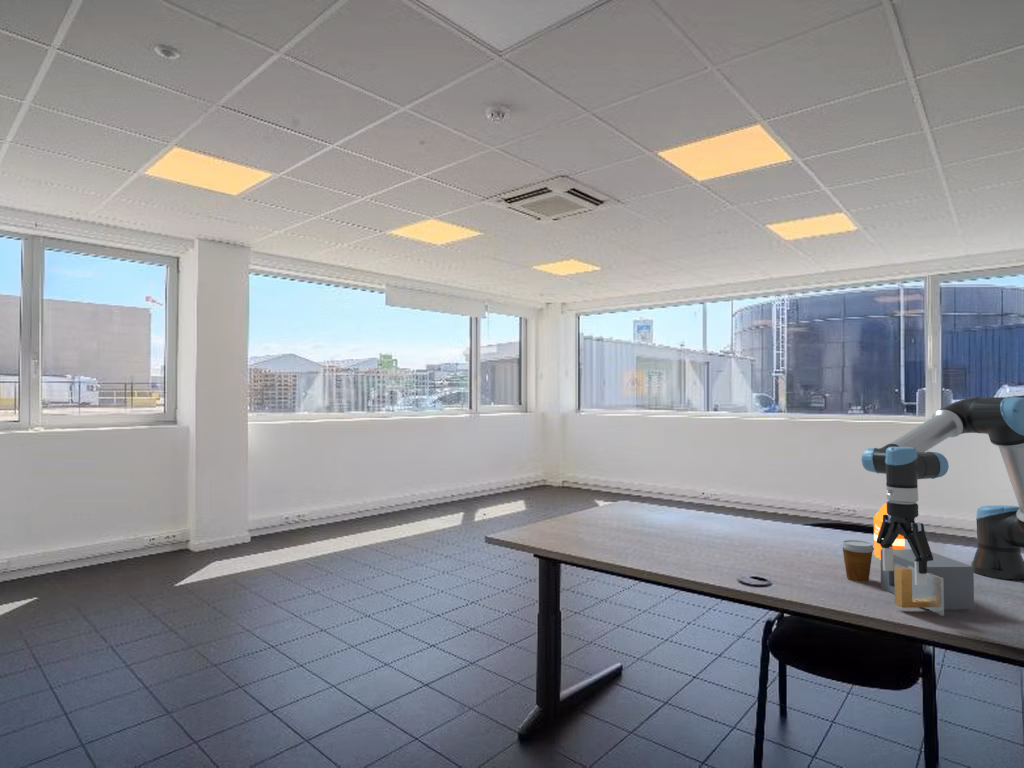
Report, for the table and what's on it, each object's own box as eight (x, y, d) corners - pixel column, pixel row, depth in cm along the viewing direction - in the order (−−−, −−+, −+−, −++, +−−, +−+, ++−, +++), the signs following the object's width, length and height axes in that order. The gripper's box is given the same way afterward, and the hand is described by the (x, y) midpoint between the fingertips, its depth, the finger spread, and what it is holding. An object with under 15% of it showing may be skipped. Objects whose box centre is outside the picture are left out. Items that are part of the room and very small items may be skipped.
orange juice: (896, 556, 230) (895, 503, 230) (905, 562, 221) (904, 507, 222) (873, 555, 232) (872, 502, 232) (881, 561, 223) (880, 506, 224)
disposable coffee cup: (837, 579, 201) (836, 542, 201) (846, 573, 208) (846, 538, 208) (869, 585, 194) (869, 547, 194) (878, 579, 201) (877, 543, 201)
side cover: (911, 599, 178) (910, 561, 178) (944, 615, 165) (943, 574, 165) (883, 600, 177) (883, 562, 178) (914, 615, 164) (913, 574, 165)
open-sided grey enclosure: (924, 587, 192) (923, 546, 193) (974, 609, 172) (973, 563, 173) (880, 587, 192) (880, 546, 192) (925, 609, 172) (924, 563, 172)
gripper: (862, 494, 184) (864, 565, 183) (919, 510, 159) (921, 591, 159) (886, 494, 184) (888, 564, 184) (948, 509, 159) (950, 591, 159)
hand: (903, 577), depth 171 cm, fingers open, 13 cm apart
